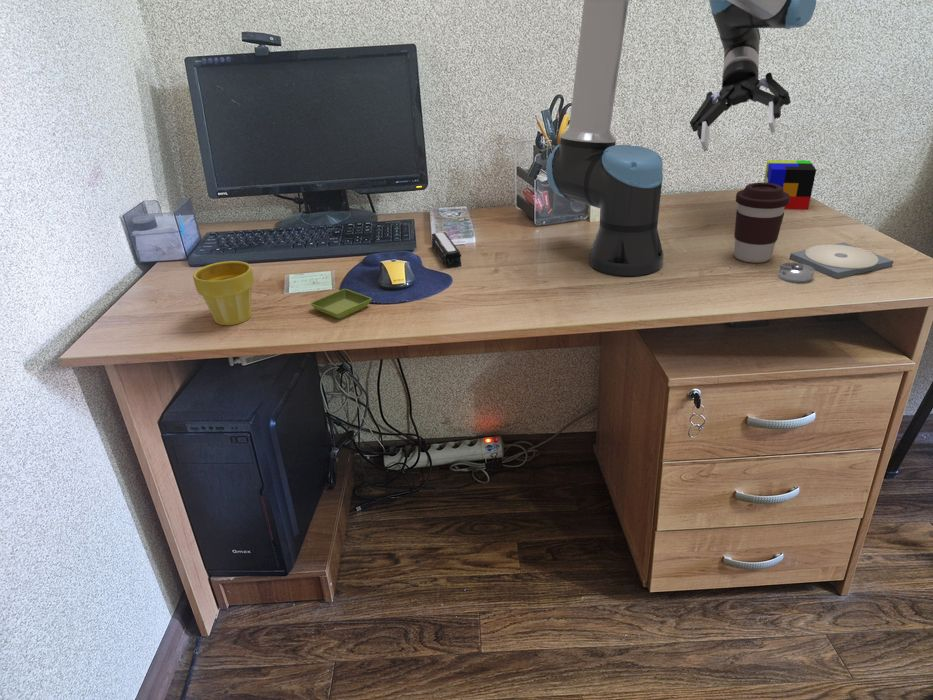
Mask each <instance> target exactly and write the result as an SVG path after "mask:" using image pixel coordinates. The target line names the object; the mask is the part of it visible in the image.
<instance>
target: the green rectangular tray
mask: <svg viewBox="0 0 933 700" xmlns="http://www.w3.org/2000/svg"><path fill="white" fill-rule="evenodd" d="M372 299H373V298H372V297H369V296H366V295H364V294H362V293H358V292H356V291H353V290H350V289H347V288H343V289H340V290H337V291H335V292H333V293H330V294H328V295H326V296H323V297H321V298H319V299H316V300H314V301H311V302H310V306H312V307H313V308H314V309H315V310H316V311H319V312H321V313H323V314H326V315H328V316H331V317H333V318H335V319H337V320H341V319H344V318H346V317H347V316H350V315H352V314H354V313H356V312H359V311H360V310H362V309H366V307H368V305H369V304H371V302H372Z"/></svg>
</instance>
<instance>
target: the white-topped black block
mask: <svg viewBox="0 0 933 700" xmlns="http://www.w3.org/2000/svg"><path fill="white" fill-rule="evenodd" d="M431 248H432V249H433V250H434V252H435V254H436V255H437V256H438V257H439V260H440V262H441V263H442V264H443V266H444V267H445V269H446V270H447V269H454V268H459V267H462V261H461V259H462V253H461V252H460V250H459V249H458V247H456V245H455V244H454V242H453V241H452V239H451V238H450V237H449V236H448V234H447V232H443V231H442V232H435V233H431Z"/></svg>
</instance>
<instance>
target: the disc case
mask: <svg viewBox="0 0 933 700" xmlns="http://www.w3.org/2000/svg"><path fill="white" fill-rule="evenodd" d="M789 260H791V261H794V262H795V263H800V264H805V265H808V266H811V267H812V268H814V271H817V272H820V273H822V274H824V275H827V276H829V277H832V278H834V279H840V278H846V277H850V276H853V275H859V274H863V273H868V272H872V271H873V272H874V271H877V270H882V269H886V268H890V267H893V264H894V260H893V259H890V258H888V257H885V256H882V255H879V254H876V253H873V252H871V251H869V250H866V249H864V248H859V247H857V246H854V245H852V244H849V243H846V242H840V243H835V244H831V243H830V244H818V245H814V246H810V247H808V248H807V249H805V250H799V251H795V252H790V255H789Z"/></svg>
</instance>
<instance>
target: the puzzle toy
mask: <svg viewBox="0 0 933 700" xmlns="http://www.w3.org/2000/svg"><path fill="white" fill-rule="evenodd" d="M816 174H817V169H816V168H815V166H814V165H813V163H812V162H811V160H802V159H801V160H800V159H798V160H792V159H791V160H790V159H789V160H788V159H787V160H780V159H779V160H778V159H770V160H769V159H767V162H766V167H765V171H764V178H763V179H764V180H763V183H773V184H777V185H780V186H782V187H783V190H784V192H786V193H788V194H789V195H790V200H789V204H788V205H787V206H785V208H784V210H801V211H802V210H804V211H805V210H809V206H810V203H811V198H812V197H811V196H812V193H813V188H814V182H815V178H816Z"/></svg>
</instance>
